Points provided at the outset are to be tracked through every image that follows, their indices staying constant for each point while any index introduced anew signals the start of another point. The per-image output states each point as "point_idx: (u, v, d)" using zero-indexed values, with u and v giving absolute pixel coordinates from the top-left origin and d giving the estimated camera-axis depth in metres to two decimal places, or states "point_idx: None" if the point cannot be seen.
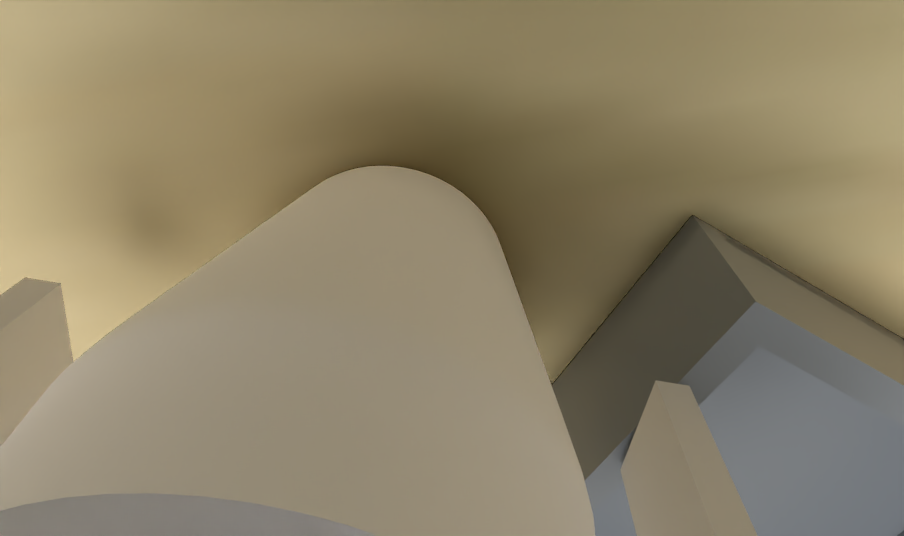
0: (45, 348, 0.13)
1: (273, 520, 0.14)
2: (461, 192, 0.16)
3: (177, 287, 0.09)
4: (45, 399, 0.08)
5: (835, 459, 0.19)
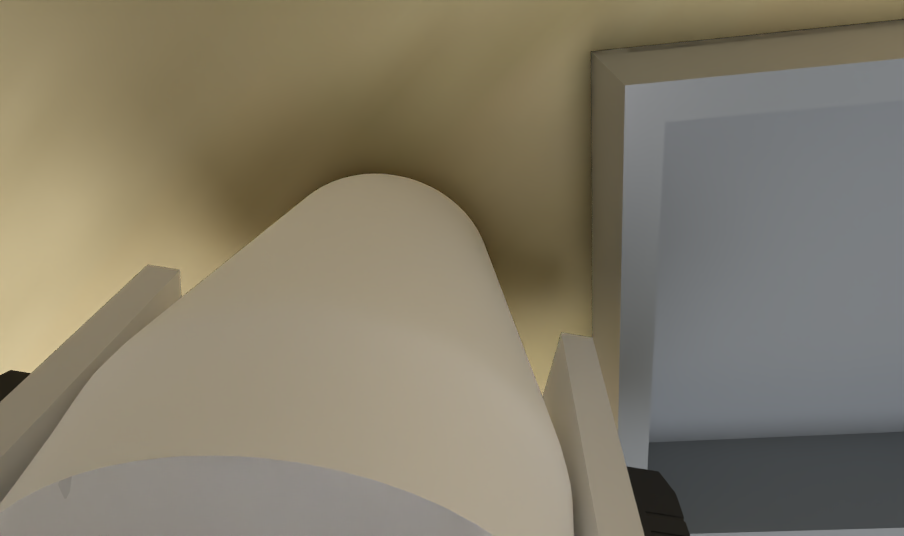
0: None
1: (368, 521, 0.16)
2: (386, 174, 0.17)
3: None
4: None
5: None
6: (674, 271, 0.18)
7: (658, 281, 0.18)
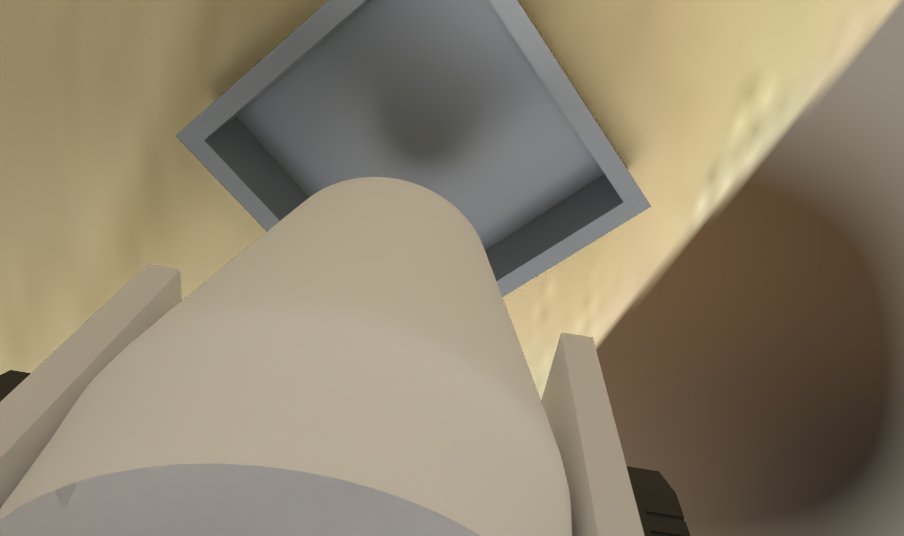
0: None
1: (367, 524, 0.16)
2: (386, 177, 0.17)
3: None
4: None
5: (418, 69, 0.26)
6: None
7: None
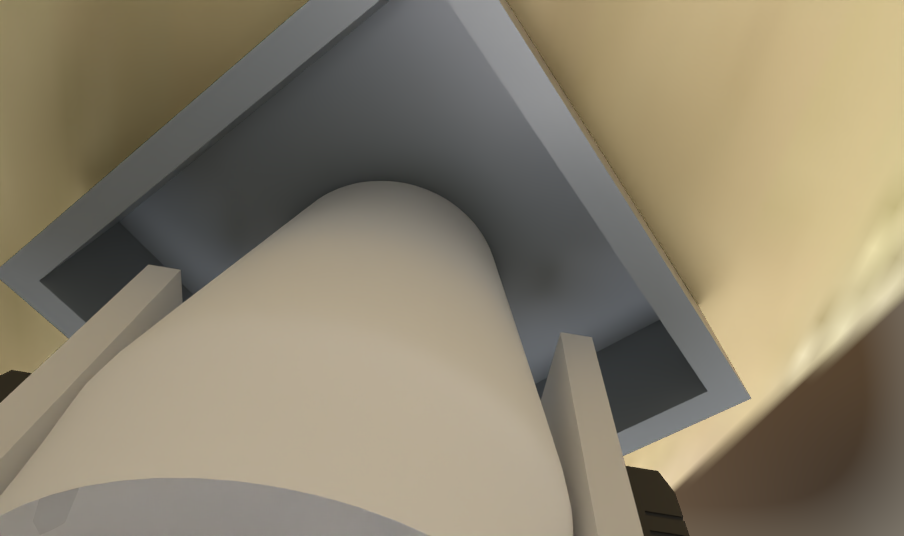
0: None
1: (368, 533, 0.16)
2: (393, 181, 0.17)
3: None
4: None
5: (389, 164, 0.17)
6: None
7: None
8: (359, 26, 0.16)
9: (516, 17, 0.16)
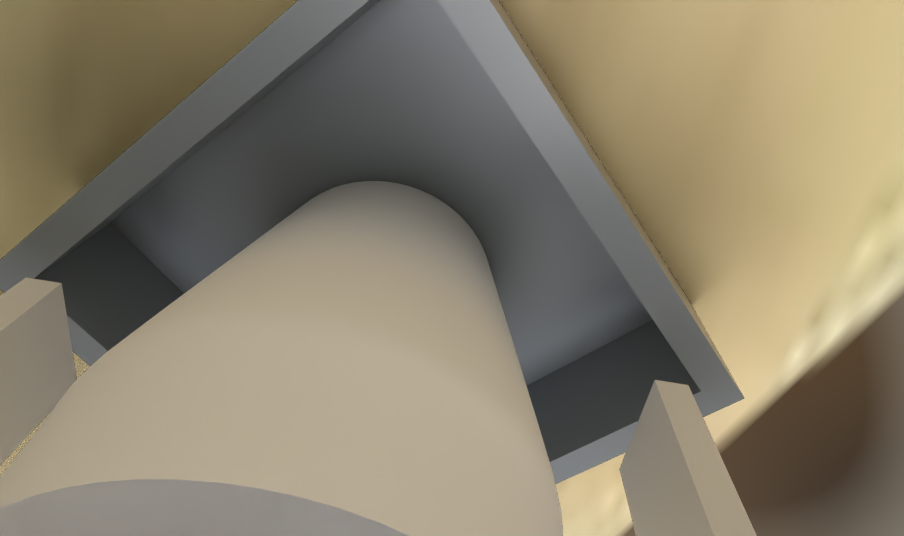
0: (46, 348, 0.13)
1: (360, 535, 0.16)
2: None
3: None
4: None
5: (382, 164, 0.17)
6: None
7: None
8: (351, 26, 0.15)
9: (508, 17, 0.16)
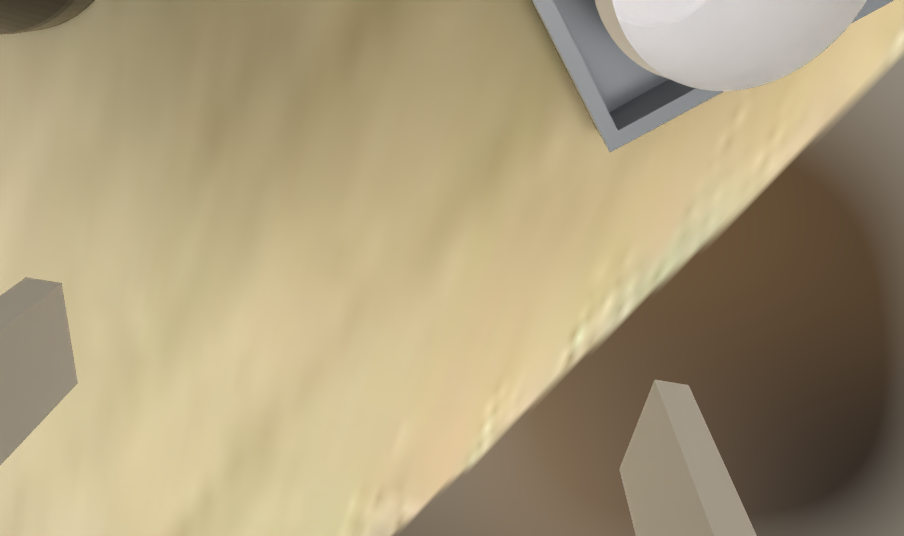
0: (46, 348, 0.13)
1: (671, 58, 0.27)
2: None
3: None
4: None
5: None
6: None
7: None
8: None
9: None
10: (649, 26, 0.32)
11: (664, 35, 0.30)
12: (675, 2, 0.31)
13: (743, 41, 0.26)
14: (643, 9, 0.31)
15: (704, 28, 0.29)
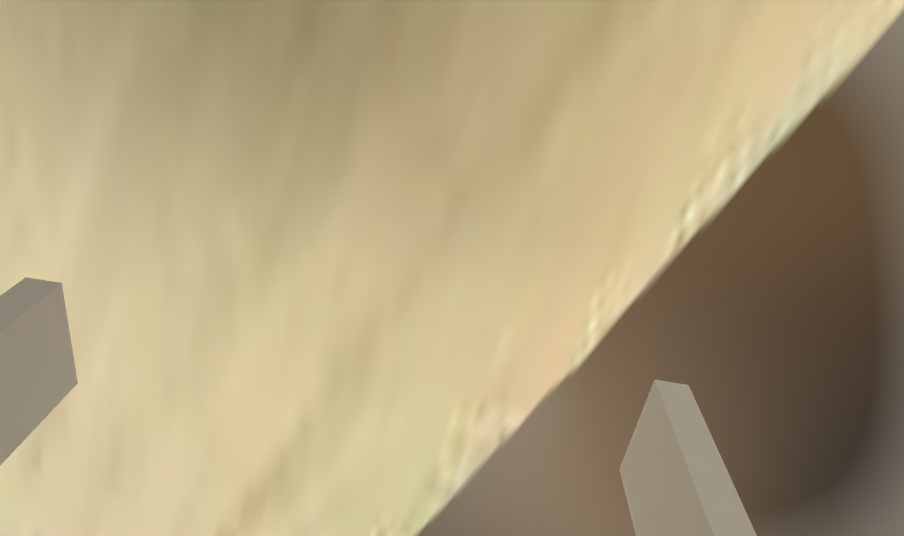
0: (46, 348, 0.13)
1: None
2: None
3: None
4: None
5: None
6: None
7: None
8: None
9: None
10: None
11: None
12: None
13: None
14: None
15: None
